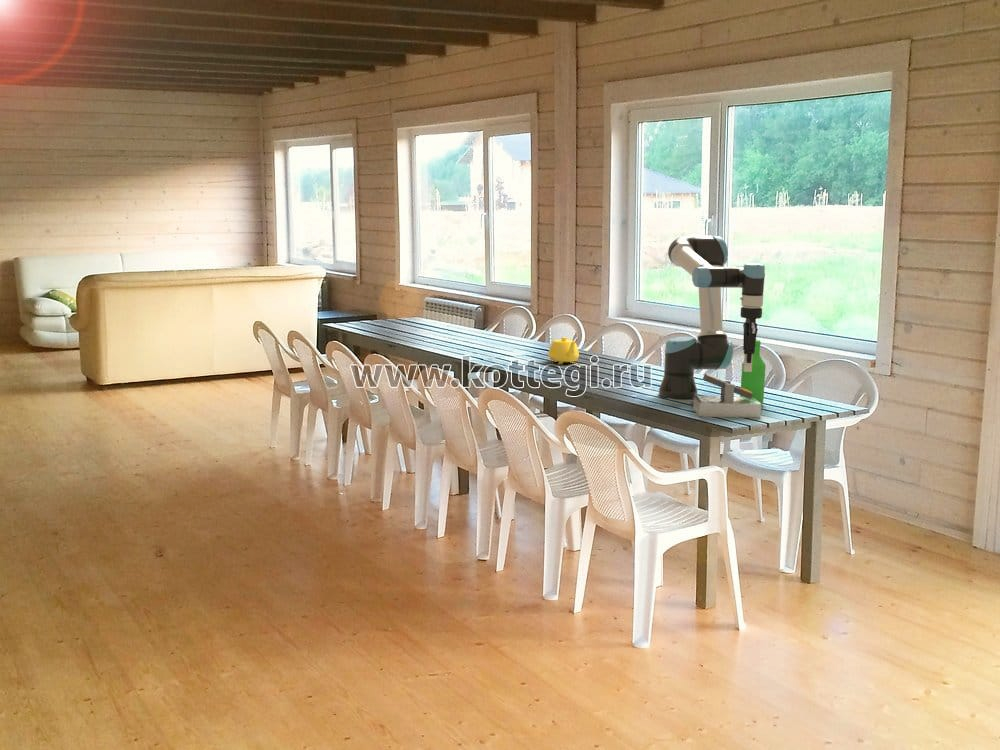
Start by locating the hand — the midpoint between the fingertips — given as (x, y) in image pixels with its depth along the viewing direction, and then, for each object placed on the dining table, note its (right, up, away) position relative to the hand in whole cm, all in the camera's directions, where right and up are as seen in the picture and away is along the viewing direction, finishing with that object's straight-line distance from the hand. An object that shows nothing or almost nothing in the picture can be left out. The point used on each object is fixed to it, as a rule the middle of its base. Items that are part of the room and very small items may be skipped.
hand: (747, 371), depth 369 cm
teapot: (-60, +4, +113) cm, 128 cm away
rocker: (-7, -6, +1) cm, 9 cm away
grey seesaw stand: (-7, -15, +2) cm, 17 cm away
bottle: (+6, -13, +20) cm, 24 cm away
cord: (-10, -13, +15) cm, 22 cm away
